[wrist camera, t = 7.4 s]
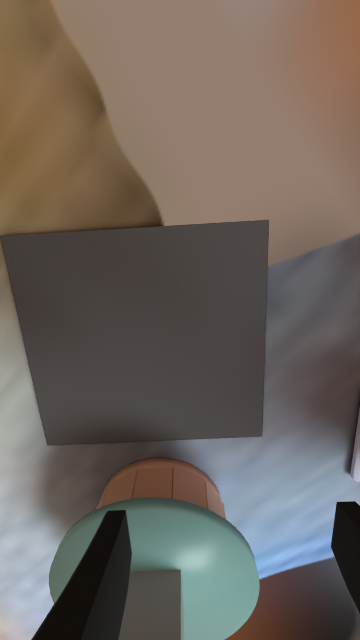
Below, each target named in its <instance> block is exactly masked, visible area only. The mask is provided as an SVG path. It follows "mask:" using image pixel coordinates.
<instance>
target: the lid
mask: <svg viewBox="0 0 360 640" xmlns="http://www.w3.org/2000/svg"><path fill="white" fill-rule="evenodd" d="M110 510H126V515H127V522H128V529H129V536H130V543H131V550H132V558H131V567H130V576H129V584H128V593H127V598H126V604H125V609H124V614H123V619H122V624H121V629H120V634H119V639H118V640H224V639H226V638H227V637H229V636H230V635H232V634H233V633H234V632H236V631H237V630H238V629H239V628H240V627H241V626H242V625H243V624H244V623H245V622H246V620H247V619H248V618H249V617H250V615H251V613H252V611H253V609H254V608H255V606H256V602H257V599H258V595H259V577H258V572H257V568H256V564H255V560H254V555H253V553H252V550H251V548H250V546H249V544H248V542H247V541H246V539H245V538H244V536H243V535H242V534H241V533H240V532H239V531H238V530H237V529H236V527H234V526H233V525H232V524H231V523H230V522H228V521H227V520H226V519H224V518H223V517H221V516H220V515H218V514H216V513H215V512H213V511H211V510H208V509H206V508H204V507H202V506H199V505H196V504H193V503H190V502H186V501H181V500H177V499H170V498H161V497H144V498H133V499H128V500H122V501H118V502H115V503H111V504H108V505H105V506H103V507H101V508H99V509H96V510H94V511H92V512H91V513H89V514H87V515H86V516H84V517H83V518H81V519H80V520H79V521H78V522H77V523H75V524H74V525H73V526H72V527H71V528H70V530H69V531H68V532H67V533H66V535H65V536H64V538H63V539H62V541H61V543H60V545H59V547H58V550H57V552H56V555H55V557H54V560H53V562H52V565H51V569H50V573H49V587H50V593H51V596H52V599H53V602H54V604H55V602H56V601H57V599H58V598H59V596H60V594H61V593H62V591H63V590H64V588H65V586H66V585H67V583H68V581H69V579H70V578H71V576H72V574H73V573H74V571H75V569H76V567H77V566H78V564H79V562H80V561H81V559H82V557H83V555H84V553H85V552H86V550H87V548H88V546H89V544H90V543H91V541H92V539H93V537H94V535H95V533H96V531H97V529H98V527H99V525H100V524H101V522H102V519H103V517H104V515H105V513H106V512H107V511H110Z"/></svg>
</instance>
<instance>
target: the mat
mask: <svg viewBox="0 0 360 640" xmlns="http://www.w3.org/2000/svg"><path fill="white" fill-rule="evenodd" d="M268 236H269V220H261V221H243V222H226V223H209V224H192V225H176V226H159V227H142V228H125V229H108V230H91V231H74V232H58V233H41V234H24V235H7V236H0V239H1V243H2V247H3V252H4V256H5V261H6V265H7V270H8V274H9V279H10V283H11V287H12V292H13V296H14V301H15V305H16V310H17V314H18V318H19V323H20V327H21V332H22V336H23V341H24V345H25V349H26V354H27V358H28V363H29V367H30V372H31V376H32V380H33V385H34V389H35V394H36V398H37V403H38V407H39V411H40V416H41V420H42V425H43V429H44V434H45V438H46V442H47V445H71V444H94V443H118V442H141V441H165V440H189V439H212V438H236V437H259V436H262V427H263V395H264V363H265V331H266V300H267V268H268Z"/></svg>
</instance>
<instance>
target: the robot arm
mask: <svg viewBox="0 0 360 640" xmlns="http://www.w3.org/2000/svg"><path fill="white" fill-rule="evenodd" d="M350 476H351V477H352V478H353V480H354V481H356V482H360V409H359V416H358V423H357V430H356V437H355V444H354V451H353V458H352V465H351V472H350ZM331 548H332V550H333V553H334V556H335V558H336V561H337V563H338V566H339V568H340V571H341V573H342V576H343V578H344V581H345V583H346V586H347V588H348V590H349V592H350V594H351V596H352V598H353V600H354V602H355V604H356V606H357V608H358V610H359V613H360V506H359V505H358V504H357V503H356V502H355V501H353V502H337V504H336V512H335V520H334V528H333V535H332V543H331ZM131 558H132V550H131V543H130V536H129V529H128V522H127V515H126V510H110V511H107V512H106V513H105V515H104V517H103V519H102V522H101V524H100V525H99V527H98V529H97V531H96V533H95V535H94V537H93V539H92V541H91V543H90V544H89V546H88V548H87V550H86V552H85V553H84V555H83V557H82V559H81V561H80V562H79V564H78V566H77V567H76V569H75V571H74V573H73V574H72V576H71V578H70V579H69V581H68V583H67V585H66V586H65V588H64V590H63V591H62V593H61V594H60V596H59V598H58V599H57V601H56V602H55V604H54V605H53V607H52V609H51V610H50V612H49V613H48V615H47V617H46V618H45V620H44V621H43V623H42V624H41V626H40V628H39V629H38V631H37V632H36V634H35V635H34V637H33V638H32V640H118V639H119V634H120V629H121V624H122V619H123V614H124V609H125V604H126V598H127V593H128V584H129V576H130V567H131Z"/></svg>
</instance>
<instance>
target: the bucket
mask: <svg viewBox="0 0 360 640" xmlns="http://www.w3.org/2000/svg"><path fill="white" fill-rule="evenodd" d="M144 497H161V498H170V499H177V500H181V501H186V502H190V503H193V504H196V505H199V506H202V507H204V508H206V509H208V510H211V511H213V512H215V513H216V514H218V515H220V516H221V517H223V518H224V519H226V518H225V512H224V506H223V503H222V502H221V497H220V494H219V491H218V489H217V487H216V485H215V484H214V482H213V481H212V480H211V479H210V478H209V477H208V476H207V475H206V474H205V473H204V472H203V471H201V470H200V469H198V468H196V467H195V466H193V465H190V464H188V463H185V462H183V461H179V460H175V459H168V458H152V459H145V460H140V461H137V462H134V463H132V464H129V465H127V466H125V467H124V468H122V469H121V470H119V471H118V472H117V473H116V474H114V475H113V476H112V478H111V479H110V480H109V481H108V483H107V484H106V486H105V488H104V490H103V493H102V496H101V499H100V501H99V503H98V505H97V507H96V509H99V508H101V507H103V506H105V505H108V504H111V503H115V502H118V501H122V500H128V499H133V498H144ZM96 509H95V510H96Z"/></svg>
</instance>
